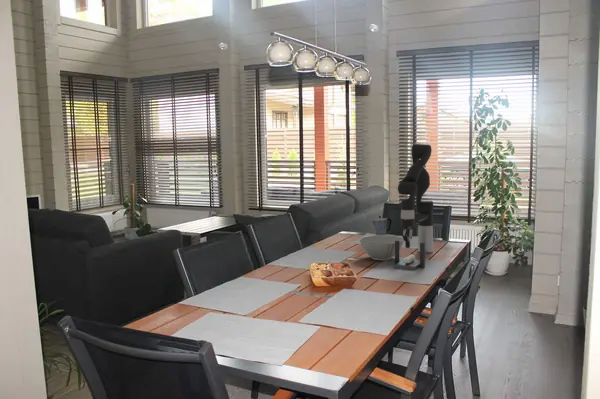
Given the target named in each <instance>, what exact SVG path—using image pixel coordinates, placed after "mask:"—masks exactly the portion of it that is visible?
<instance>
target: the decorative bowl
mask: <svg viewBox="0 0 600 399" xmlns="http://www.w3.org/2000/svg"><path fill="white" fill-rule="evenodd" d="M395 241H399V251H400V250H401V249H402V247H403V244H404V243H405V241H404V240H403V237H402V236H399V235H398V236H397V235H390V234H389V235H388V234H386V235H376V234H375V235H374V234H373V235H366V236H362V237H360V238H359V242H360V246H361V248H362V249H363V250H364V252H365V253H366V254H367V255H368V256H370V257H371V259H372V260H374V261H390V260H391V259H392V258H393V257H395Z"/></svg>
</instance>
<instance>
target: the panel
mask: <svg viewBox="0 0 600 399" xmlns="http://www.w3.org/2000/svg"><path fill="white" fill-rule="evenodd" d="M400 268H401V270H402V269H403V270H408V271H409V270H410V271H416V270H418V269H420V259H415V260H413V261H410V263H405V262H404V258H403V259H401V260H399V262H398V263H396V264H395V263H394V269H400Z"/></svg>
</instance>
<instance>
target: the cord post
mask: <svg viewBox="0 0 600 399" xmlns="http://www.w3.org/2000/svg"><path fill="white" fill-rule="evenodd" d="M425 254H426V253H425V243H420V252H419V260H420V267H419V269H425V267H426V265H425V263H426V255H425Z"/></svg>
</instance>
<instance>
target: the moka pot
mask: <svg viewBox="0 0 600 399" xmlns="http://www.w3.org/2000/svg"><path fill="white" fill-rule="evenodd" d="M388 221H389V223H388ZM392 221H393V220H392V218H390V217H385V218H382V216H381V215H378V218H376V219H375V218H374V219H373V220H372V221H371V222H372V224H373V226H374V231H375V235H387V232H389V231H390V230H391V226H392ZM387 224H389V225H388V229H387Z"/></svg>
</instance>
